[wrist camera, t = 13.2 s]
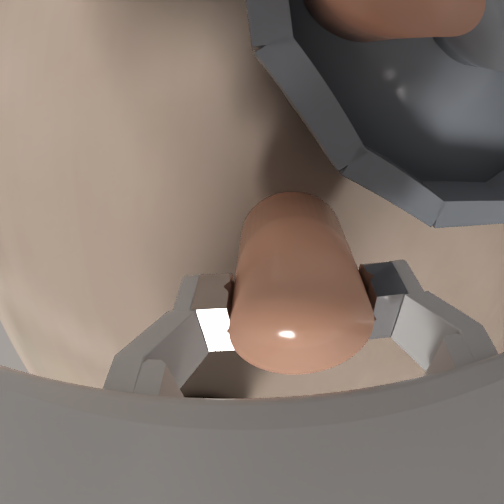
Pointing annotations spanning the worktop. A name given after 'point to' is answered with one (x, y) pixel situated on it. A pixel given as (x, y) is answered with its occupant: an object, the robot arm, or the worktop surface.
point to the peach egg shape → (396, 18)
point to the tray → (398, 108)
